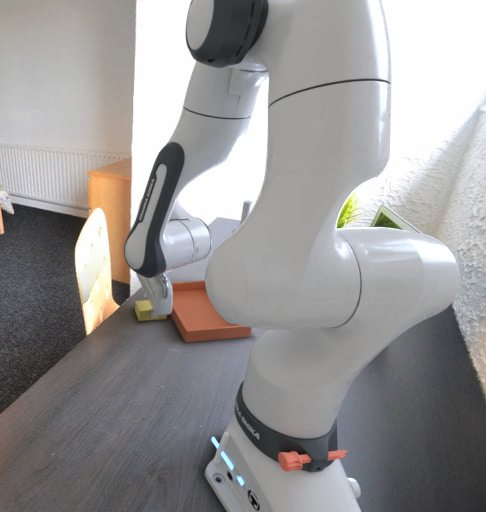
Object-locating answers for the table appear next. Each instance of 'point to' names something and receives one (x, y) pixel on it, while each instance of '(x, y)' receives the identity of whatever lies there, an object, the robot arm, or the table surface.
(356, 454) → the table surface
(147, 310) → the sponge
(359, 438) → the table surface
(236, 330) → the orange tray
